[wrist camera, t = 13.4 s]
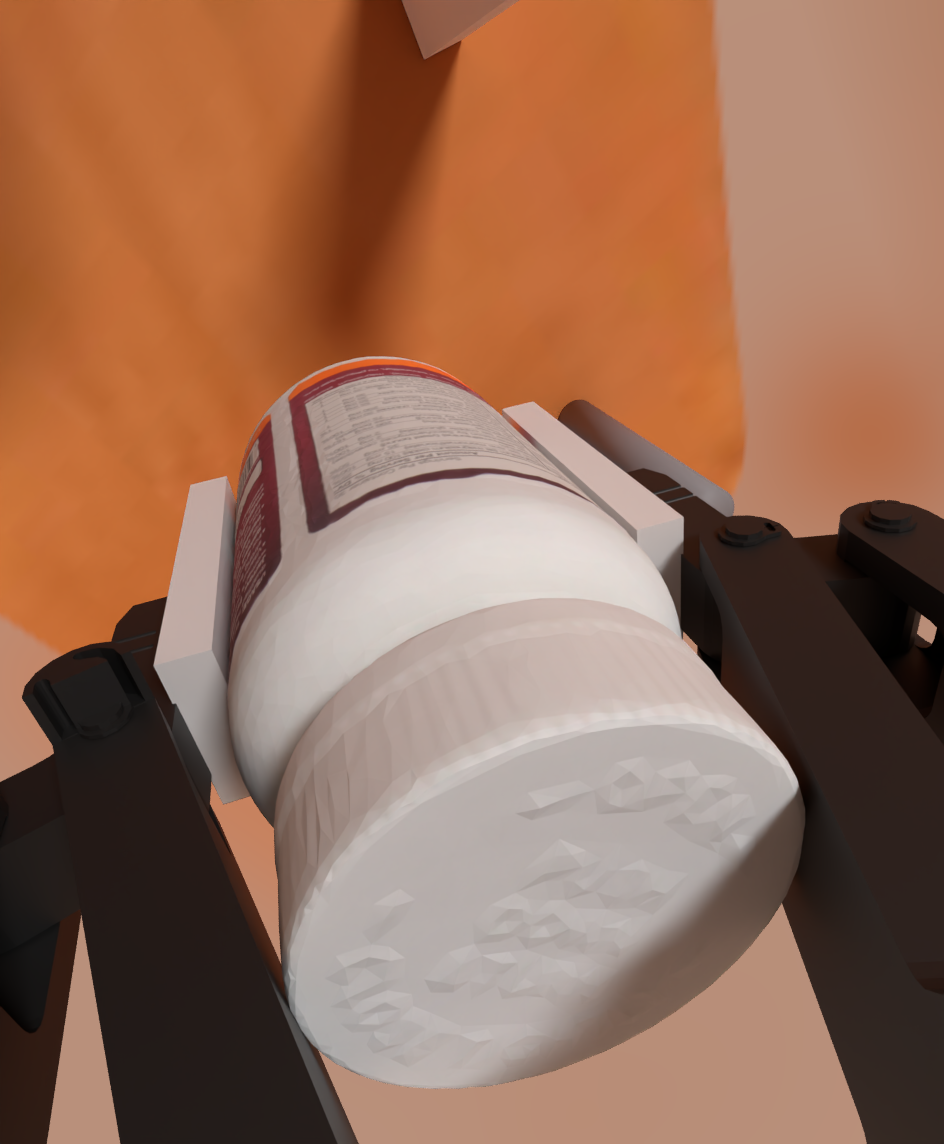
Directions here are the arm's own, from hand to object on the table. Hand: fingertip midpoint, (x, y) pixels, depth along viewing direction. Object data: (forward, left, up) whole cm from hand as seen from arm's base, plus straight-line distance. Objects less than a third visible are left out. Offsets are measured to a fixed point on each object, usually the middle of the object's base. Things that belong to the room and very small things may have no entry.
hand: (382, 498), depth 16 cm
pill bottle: (0, 0, -1) cm, 1 cm away
